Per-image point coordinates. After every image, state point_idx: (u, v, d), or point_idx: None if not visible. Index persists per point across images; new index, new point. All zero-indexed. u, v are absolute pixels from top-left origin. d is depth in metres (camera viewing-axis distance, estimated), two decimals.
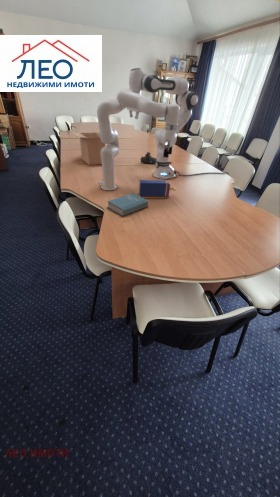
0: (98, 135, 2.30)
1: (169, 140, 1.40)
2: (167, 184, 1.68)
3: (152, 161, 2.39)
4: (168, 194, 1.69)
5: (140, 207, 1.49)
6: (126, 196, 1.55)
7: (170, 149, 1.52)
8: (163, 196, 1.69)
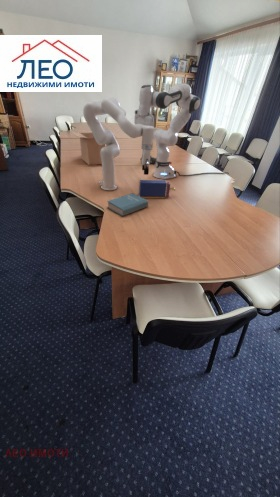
0: None
1: (148, 159, 1.49)
2: (167, 184, 1.68)
3: (152, 161, 2.39)
4: (168, 194, 1.69)
5: (140, 207, 1.49)
6: (126, 196, 1.55)
7: (145, 165, 1.61)
8: (163, 196, 1.69)
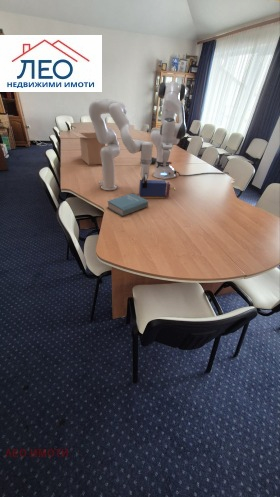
0: None
1: (147, 173, 1.55)
2: (167, 184, 1.68)
3: (152, 161, 2.39)
4: (168, 194, 1.69)
5: (140, 207, 1.49)
6: (126, 196, 1.55)
7: None
8: (163, 196, 1.69)
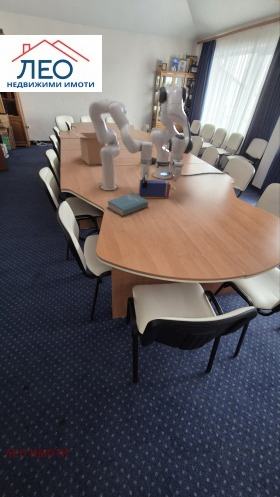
0: None
1: (147, 173, 1.55)
2: (167, 184, 1.68)
3: (152, 161, 2.39)
4: (168, 194, 1.69)
5: (140, 207, 1.49)
6: (126, 196, 1.55)
7: None
8: (163, 196, 1.69)
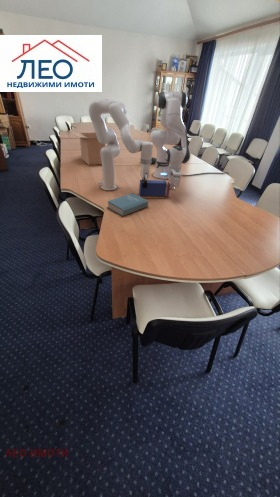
0: None
1: (147, 173, 1.55)
2: (167, 184, 1.68)
3: (152, 161, 2.39)
4: (168, 194, 1.69)
5: (140, 207, 1.49)
6: (126, 196, 1.55)
7: (144, 180, 1.66)
8: (163, 196, 1.69)
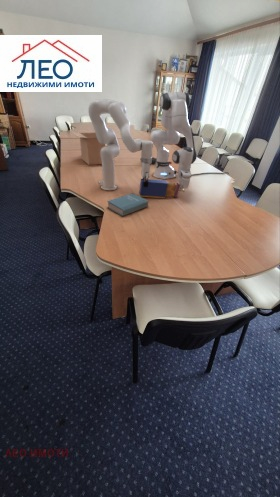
0: None
1: (148, 172, 1.54)
2: (176, 185, 1.69)
3: (152, 161, 2.39)
4: None
5: (140, 207, 1.49)
6: (126, 196, 1.55)
7: None
8: (163, 196, 1.69)
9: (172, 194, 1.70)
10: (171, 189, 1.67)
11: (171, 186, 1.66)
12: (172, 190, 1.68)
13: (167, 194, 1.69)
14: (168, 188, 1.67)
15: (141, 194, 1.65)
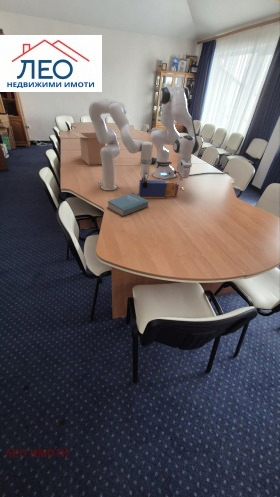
0: None
1: (147, 173, 1.55)
2: (175, 184, 1.68)
3: (152, 161, 2.39)
4: (176, 194, 1.69)
5: (140, 207, 1.49)
6: (126, 196, 1.55)
7: (144, 179, 1.66)
8: (163, 196, 1.69)
9: (172, 194, 1.70)
10: (170, 189, 1.67)
11: (170, 186, 1.66)
12: (171, 190, 1.68)
13: (167, 194, 1.69)
14: (167, 188, 1.66)
15: (140, 195, 1.66)
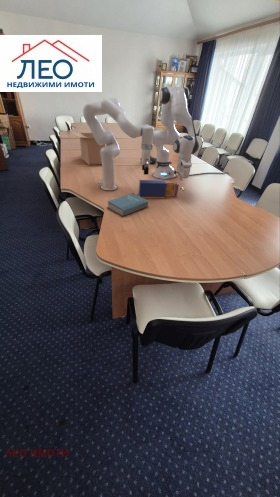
0: None
1: (148, 159, 1.49)
2: (175, 184, 1.68)
3: (152, 161, 2.39)
4: (176, 194, 1.69)
5: (140, 207, 1.49)
6: (126, 196, 1.55)
7: (145, 165, 1.61)
8: (163, 196, 1.69)
9: (172, 194, 1.70)
10: (170, 189, 1.67)
11: (170, 186, 1.66)
12: (171, 190, 1.68)
13: (167, 194, 1.69)
14: (167, 188, 1.66)
15: (140, 195, 1.66)
